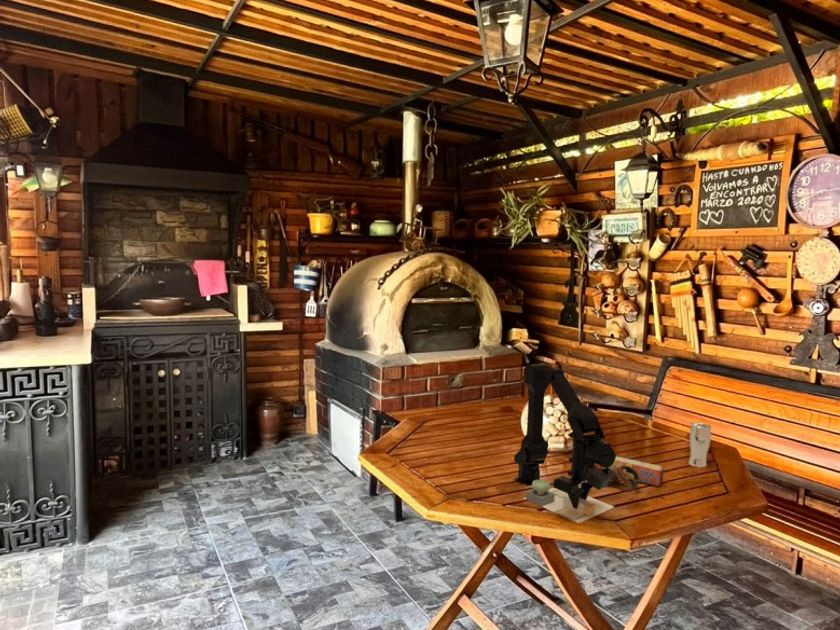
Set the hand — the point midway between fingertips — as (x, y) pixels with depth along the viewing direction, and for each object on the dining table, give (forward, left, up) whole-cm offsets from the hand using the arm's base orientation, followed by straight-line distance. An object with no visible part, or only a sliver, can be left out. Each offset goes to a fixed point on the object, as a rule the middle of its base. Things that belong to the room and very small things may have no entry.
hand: (578, 507), depth 172 cm
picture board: (-5, +2, -2) cm, 6 cm away
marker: (0, 0, -1) cm, 1 cm away
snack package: (-6, +38, -2) cm, 38 cm away
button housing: (-11, -4, -2) cm, 12 cm away
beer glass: (+2, +71, -2) cm, 71 cm away
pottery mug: (-3, +27, -2) cm, 27 cm away
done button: (-11, -4, 0) cm, 12 cm away
